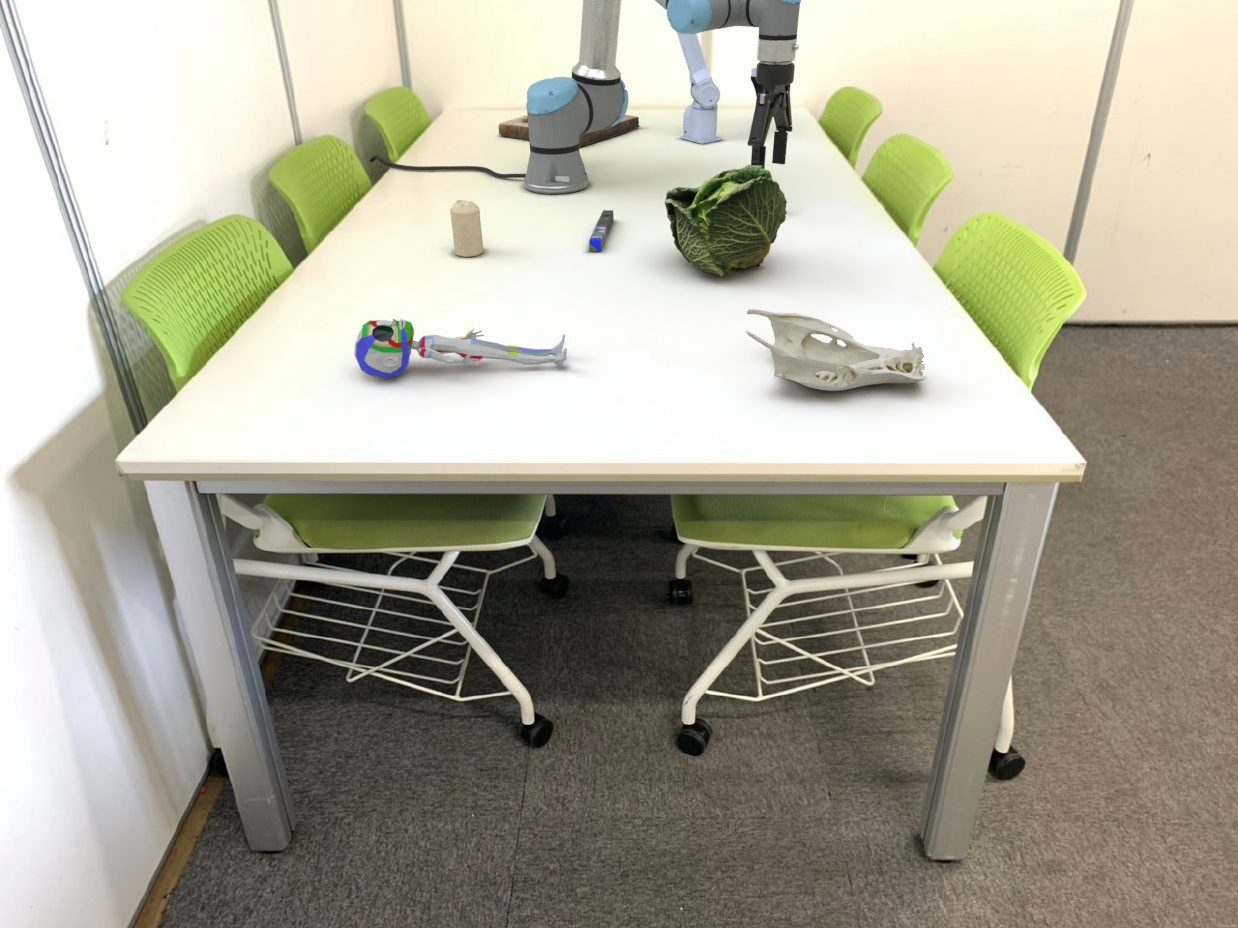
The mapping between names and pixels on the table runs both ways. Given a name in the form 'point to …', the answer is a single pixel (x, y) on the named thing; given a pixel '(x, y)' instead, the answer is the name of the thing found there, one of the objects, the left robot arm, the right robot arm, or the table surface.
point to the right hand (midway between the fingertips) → (770, 101)
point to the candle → (466, 228)
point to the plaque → (521, 131)
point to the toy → (435, 349)
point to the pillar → (601, 230)
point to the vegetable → (727, 219)
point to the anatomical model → (834, 356)
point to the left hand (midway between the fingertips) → (768, 171)
